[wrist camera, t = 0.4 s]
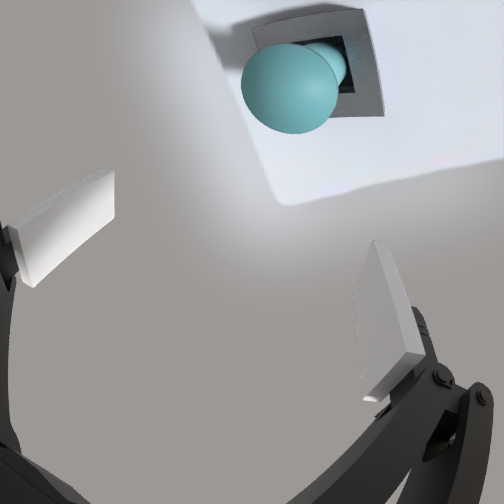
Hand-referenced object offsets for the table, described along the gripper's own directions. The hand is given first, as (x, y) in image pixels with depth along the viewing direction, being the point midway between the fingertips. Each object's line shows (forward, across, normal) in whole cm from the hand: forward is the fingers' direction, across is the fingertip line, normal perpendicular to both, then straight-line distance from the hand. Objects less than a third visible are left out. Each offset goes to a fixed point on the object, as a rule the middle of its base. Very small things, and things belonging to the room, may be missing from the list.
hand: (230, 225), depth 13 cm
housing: (+26, +3, +12) cm, 29 cm away
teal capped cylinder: (+26, +3, +12) cm, 29 cm away
